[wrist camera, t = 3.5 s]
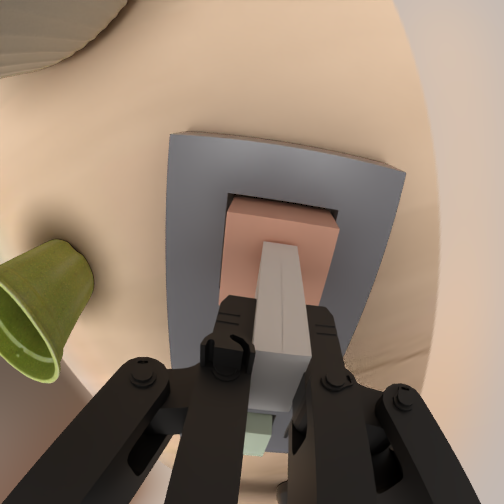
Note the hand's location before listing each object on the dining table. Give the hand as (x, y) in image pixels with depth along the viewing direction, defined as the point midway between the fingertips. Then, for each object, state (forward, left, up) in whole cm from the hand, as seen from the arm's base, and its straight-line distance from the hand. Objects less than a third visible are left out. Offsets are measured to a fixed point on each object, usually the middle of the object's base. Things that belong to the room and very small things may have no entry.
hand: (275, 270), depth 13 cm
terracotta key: (0, 0, -3) cm, 3 cm away
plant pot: (-6, +16, -6) cm, 18 cm away
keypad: (-9, 0, -5) cm, 11 cm away
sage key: (-18, 0, -3) cm, 18 cm away
